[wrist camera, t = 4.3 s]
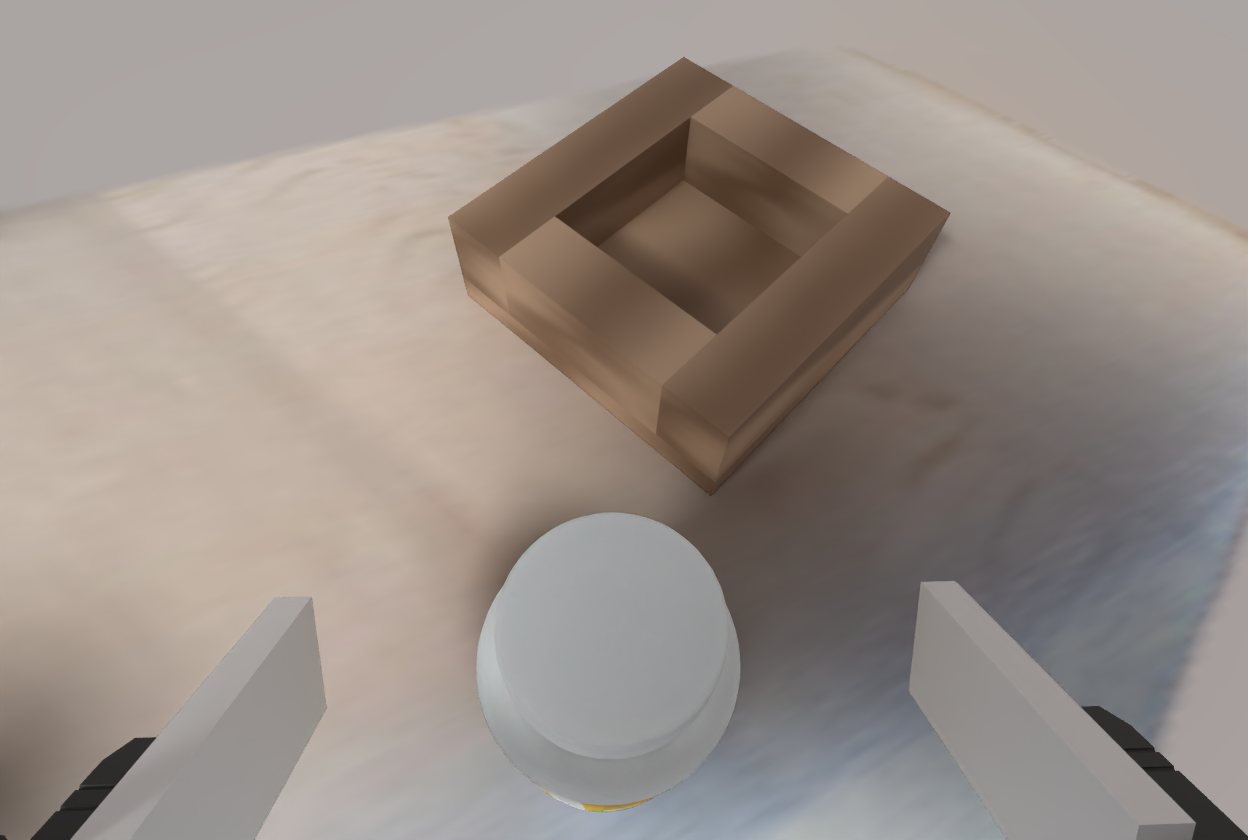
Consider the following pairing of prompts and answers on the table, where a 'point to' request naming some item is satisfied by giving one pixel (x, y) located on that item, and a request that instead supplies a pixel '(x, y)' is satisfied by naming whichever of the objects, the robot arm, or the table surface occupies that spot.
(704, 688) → the supplement bottle
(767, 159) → the socket block
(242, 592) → the table surface
